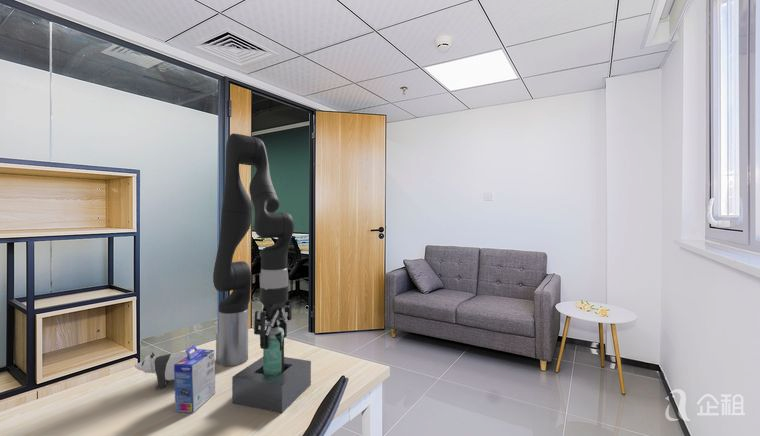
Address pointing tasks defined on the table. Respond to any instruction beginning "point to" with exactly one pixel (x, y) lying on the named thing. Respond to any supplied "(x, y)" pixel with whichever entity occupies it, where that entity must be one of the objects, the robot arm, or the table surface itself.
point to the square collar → (271, 385)
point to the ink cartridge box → (194, 379)
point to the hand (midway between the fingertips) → (274, 342)
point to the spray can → (274, 352)
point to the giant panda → (161, 366)
